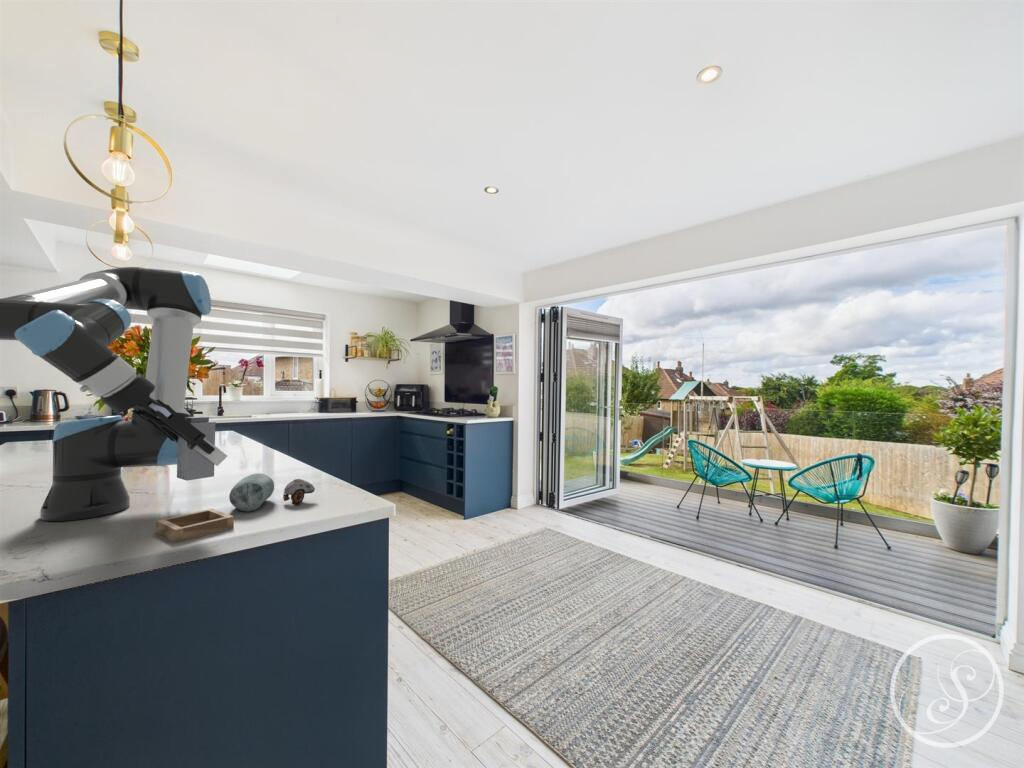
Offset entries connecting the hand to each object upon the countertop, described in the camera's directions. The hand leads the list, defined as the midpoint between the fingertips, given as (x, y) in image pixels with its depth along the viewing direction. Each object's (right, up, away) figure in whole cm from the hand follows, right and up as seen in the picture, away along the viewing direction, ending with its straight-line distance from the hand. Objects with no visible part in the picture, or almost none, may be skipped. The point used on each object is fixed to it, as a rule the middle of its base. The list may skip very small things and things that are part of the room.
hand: (216, 459), depth 91 cm
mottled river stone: (-1, -15, +15) cm, 21 cm away
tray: (-2, -15, -3) cm, 15 cm away
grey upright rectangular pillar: (-2, -3, -3) cm, 5 cm away
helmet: (+9, -15, +18) cm, 25 cm away
